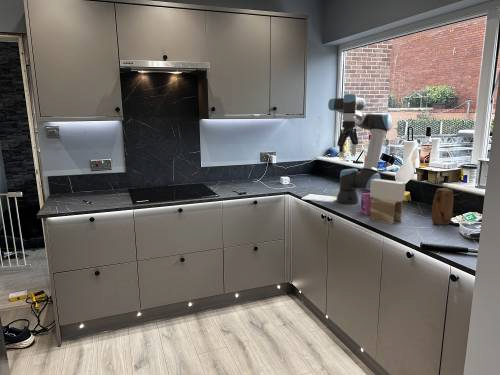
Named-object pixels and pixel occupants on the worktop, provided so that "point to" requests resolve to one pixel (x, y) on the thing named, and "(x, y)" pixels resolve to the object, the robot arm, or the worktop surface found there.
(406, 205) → the worktop surface
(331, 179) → the worktop surface
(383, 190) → the block
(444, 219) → the block
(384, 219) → the tan wooden box
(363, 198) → the gum box
